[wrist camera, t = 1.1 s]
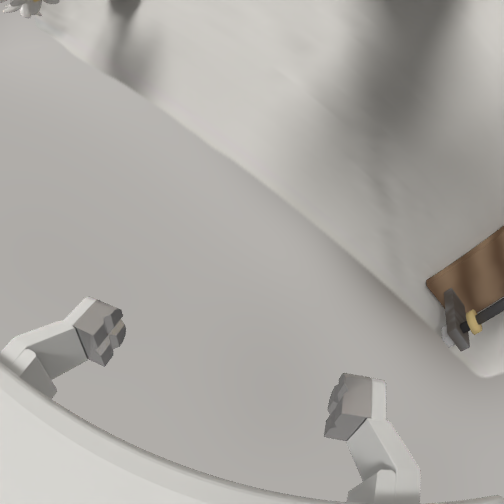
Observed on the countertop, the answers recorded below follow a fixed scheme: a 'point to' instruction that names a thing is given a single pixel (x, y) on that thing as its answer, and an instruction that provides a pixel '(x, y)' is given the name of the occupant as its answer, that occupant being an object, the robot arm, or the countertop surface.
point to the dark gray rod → (474, 321)
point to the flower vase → (26, 6)
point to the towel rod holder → (470, 284)
